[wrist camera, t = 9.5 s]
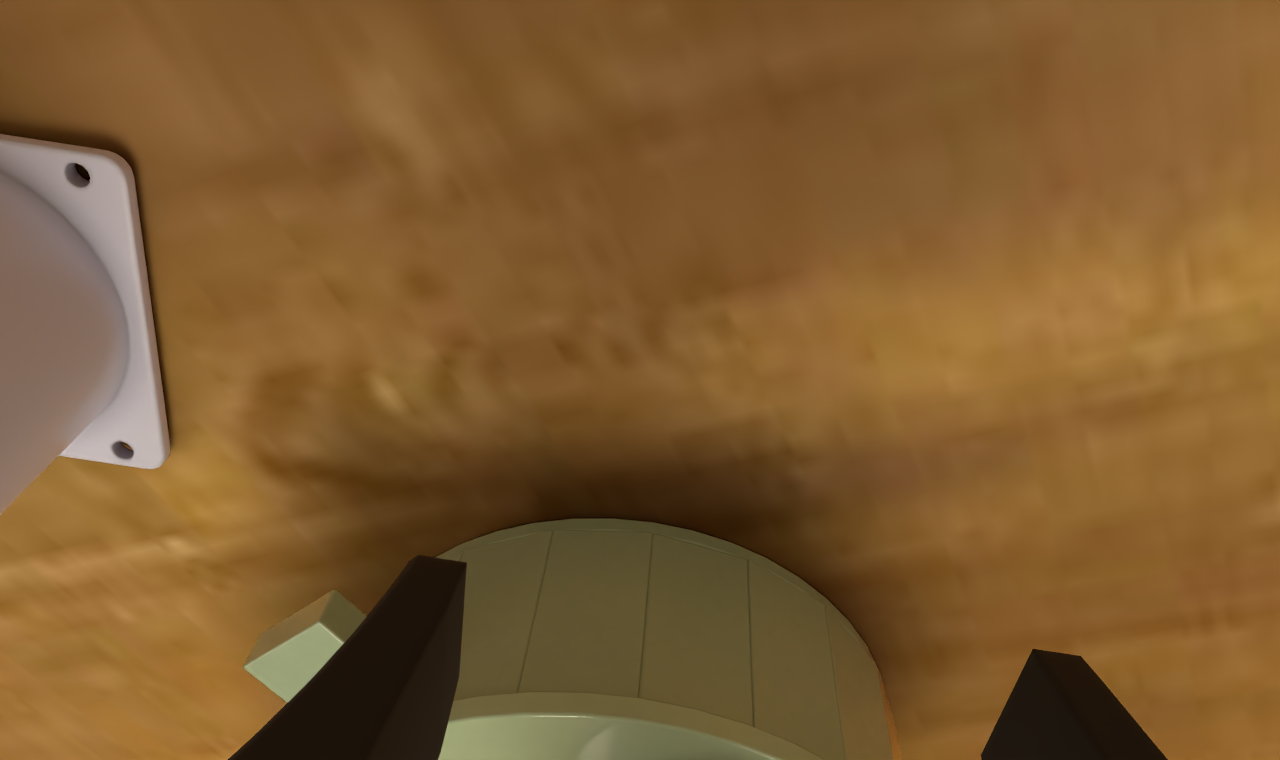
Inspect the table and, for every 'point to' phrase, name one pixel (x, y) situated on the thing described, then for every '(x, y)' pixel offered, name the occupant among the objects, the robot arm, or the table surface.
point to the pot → (636, 632)
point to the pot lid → (601, 730)
